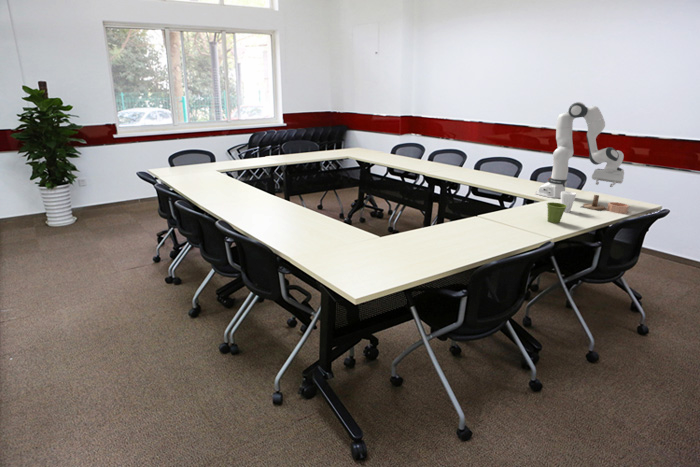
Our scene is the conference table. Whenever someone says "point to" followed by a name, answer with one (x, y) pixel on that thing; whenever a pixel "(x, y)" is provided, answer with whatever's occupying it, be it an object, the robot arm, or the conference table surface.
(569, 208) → the foam cup
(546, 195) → the robot arm
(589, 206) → the lid
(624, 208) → the bowl
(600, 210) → the mat
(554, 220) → the plant pot
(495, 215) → the conference table surface
